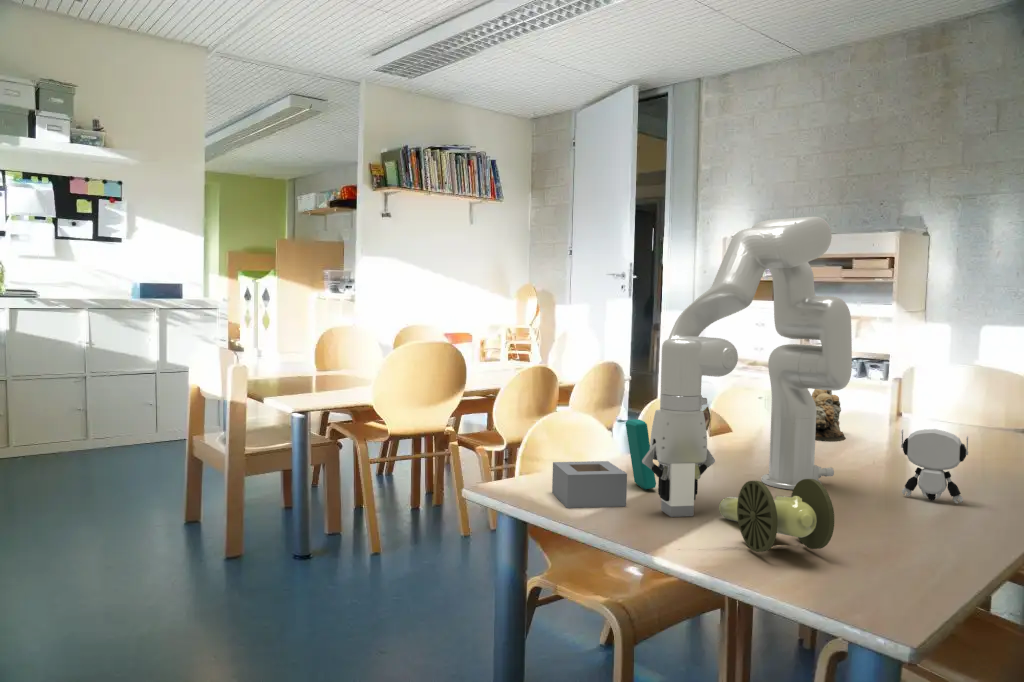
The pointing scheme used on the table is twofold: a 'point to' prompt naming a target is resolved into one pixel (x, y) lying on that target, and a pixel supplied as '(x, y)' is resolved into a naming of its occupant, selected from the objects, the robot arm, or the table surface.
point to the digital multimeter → (640, 453)
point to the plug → (680, 490)
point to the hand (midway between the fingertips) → (677, 498)
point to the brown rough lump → (827, 416)
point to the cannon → (781, 514)
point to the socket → (589, 484)
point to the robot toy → (933, 461)
